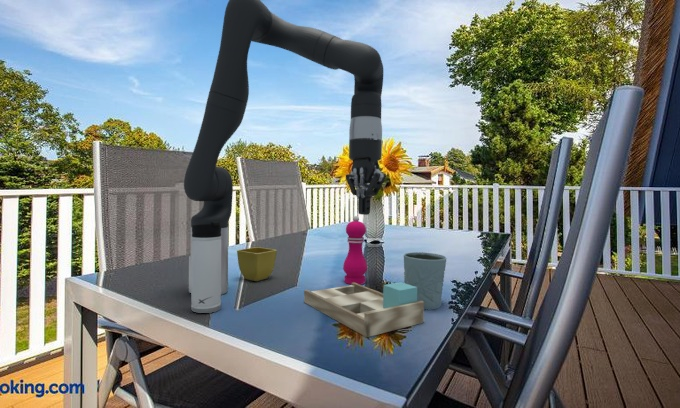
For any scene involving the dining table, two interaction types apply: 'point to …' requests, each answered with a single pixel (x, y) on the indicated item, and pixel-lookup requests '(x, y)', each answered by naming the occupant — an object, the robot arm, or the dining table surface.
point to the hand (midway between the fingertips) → (364, 214)
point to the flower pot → (256, 262)
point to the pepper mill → (355, 253)
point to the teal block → (398, 294)
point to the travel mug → (206, 268)
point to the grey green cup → (425, 276)
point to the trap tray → (364, 309)
